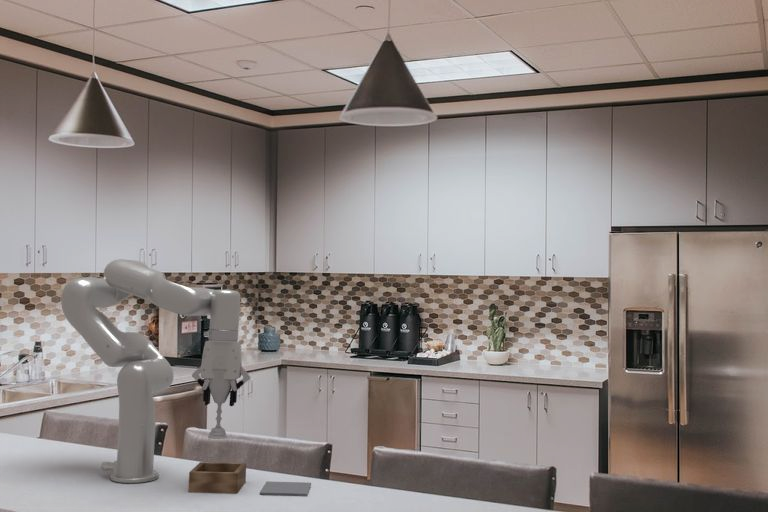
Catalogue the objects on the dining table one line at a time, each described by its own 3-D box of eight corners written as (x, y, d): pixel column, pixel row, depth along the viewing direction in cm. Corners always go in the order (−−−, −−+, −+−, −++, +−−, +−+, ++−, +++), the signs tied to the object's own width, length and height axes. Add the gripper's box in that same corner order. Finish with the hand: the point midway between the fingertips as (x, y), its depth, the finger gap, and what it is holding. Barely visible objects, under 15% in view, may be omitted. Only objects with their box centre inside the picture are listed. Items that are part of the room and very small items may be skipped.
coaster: (259, 494, 195) (259, 492, 195) (266, 483, 207) (266, 481, 207) (306, 496, 195) (307, 493, 195) (311, 484, 207) (311, 482, 207)
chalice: (224, 440, 199) (228, 370, 199) (199, 438, 200) (203, 368, 201) (235, 436, 206) (239, 368, 207) (211, 433, 207) (215, 366, 208)
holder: (188, 492, 196) (189, 472, 196) (199, 480, 208) (200, 462, 208) (237, 493, 196) (238, 473, 196) (245, 482, 208) (246, 463, 208)
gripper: (187, 335, 200) (183, 405, 199) (253, 338, 200) (249, 408, 200) (194, 334, 208) (190, 401, 207) (258, 337, 208) (254, 404, 207)
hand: (219, 404), depth 203 cm, fingers closed on chalice, 5 cm apart
